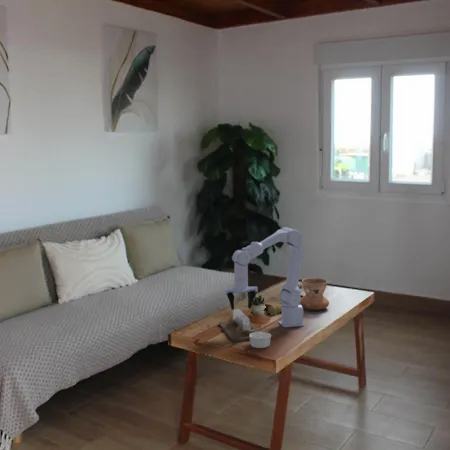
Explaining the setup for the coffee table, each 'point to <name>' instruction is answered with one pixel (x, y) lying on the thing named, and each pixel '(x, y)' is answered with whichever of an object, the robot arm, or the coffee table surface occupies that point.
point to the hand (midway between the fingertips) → (241, 308)
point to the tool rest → (237, 331)
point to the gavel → (274, 308)
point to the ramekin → (260, 339)
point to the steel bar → (241, 319)
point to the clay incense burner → (314, 294)
